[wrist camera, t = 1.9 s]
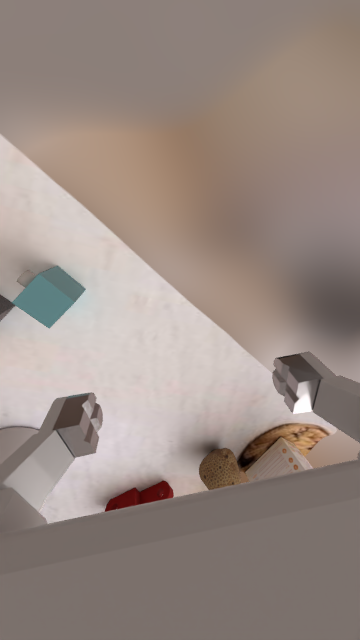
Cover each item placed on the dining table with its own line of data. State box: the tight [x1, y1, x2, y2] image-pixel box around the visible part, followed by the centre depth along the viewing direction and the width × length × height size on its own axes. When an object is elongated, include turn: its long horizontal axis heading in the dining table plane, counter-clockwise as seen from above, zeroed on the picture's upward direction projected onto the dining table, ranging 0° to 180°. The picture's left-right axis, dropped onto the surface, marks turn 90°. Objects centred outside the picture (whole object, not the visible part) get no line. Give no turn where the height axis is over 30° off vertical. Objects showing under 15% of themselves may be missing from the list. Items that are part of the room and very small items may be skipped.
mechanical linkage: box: [105, 481, 173, 512], centre depth 53 cm, size 16×7×5 cm, turn 112°
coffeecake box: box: [245, 437, 313, 482], centre depth 51 cm, size 15×7×20 cm, turn 142°
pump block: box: [12, 266, 86, 328], centre depth 30 cm, size 5×6×7 cm
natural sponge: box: [199, 448, 241, 490], centre depth 50 cm, size 9×9×10 cm
